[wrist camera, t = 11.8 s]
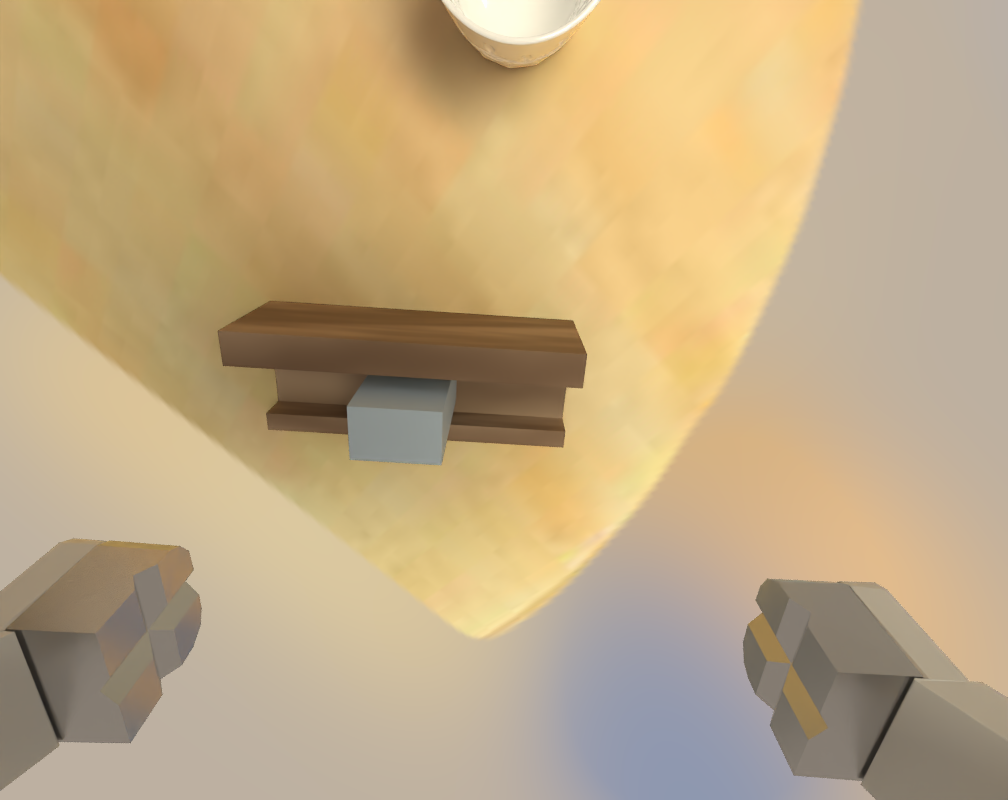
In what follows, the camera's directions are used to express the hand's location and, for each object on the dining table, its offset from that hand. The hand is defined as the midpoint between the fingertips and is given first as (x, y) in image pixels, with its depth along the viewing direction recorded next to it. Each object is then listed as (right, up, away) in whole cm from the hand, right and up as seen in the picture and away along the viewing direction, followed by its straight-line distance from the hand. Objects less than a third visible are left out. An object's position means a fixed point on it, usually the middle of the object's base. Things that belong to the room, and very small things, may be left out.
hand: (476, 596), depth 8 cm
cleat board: (-5, +5, +30) cm, 31 cm away
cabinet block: (-5, +4, +29) cm, 30 cm away
